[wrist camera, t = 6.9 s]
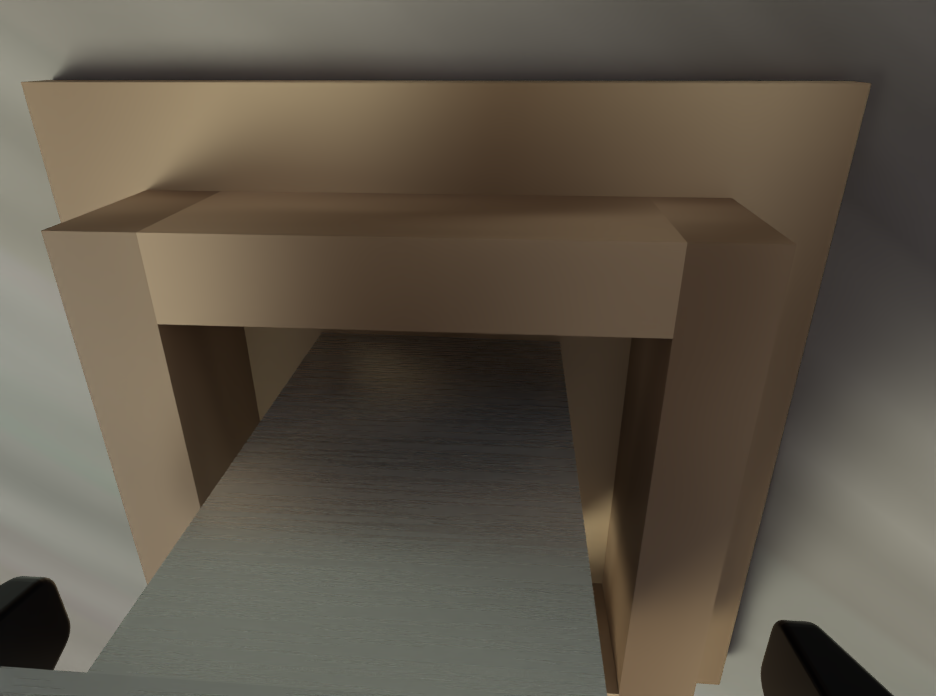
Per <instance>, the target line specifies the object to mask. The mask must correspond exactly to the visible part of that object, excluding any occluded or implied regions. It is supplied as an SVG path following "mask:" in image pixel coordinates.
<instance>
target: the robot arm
mask: <svg viewBox="0 0 936 696" xmlns="http://www.w3.org/2000/svg"><path fill="white" fill-rule="evenodd" d="M69 634H70V621H69V618H68V615H67V612H66V610H65V607H64V605H63V602H62V599H61V597H60V594H59V592H58V589H57V587H56V585H55V583H54V582H53V581H52V580H51V579H49V578H46V577H29V576H21V577H16V578H13V579H11V580H9V581H7V582H5V583H3V584H2V585H0V667H1V666H2V667H16V668H30V669H43V670H54V668H55V666H56V664H57V662H58V660H59V658H60V656H61V654H62V652H63V650H64V648H65V646H66V643H67V641H68V637H69ZM761 682H762V689H763V693H764V696H893V695H892V694H891V693H890V692H889V691H888V690H887V689H886V688H885V687H884V686H883V685H882V684H880V683H879V682H878V681H877V680H876V679H875V678H874V677H873V676H872V675H871V674H870V673H869V672H867V671H866V670H865V669H864V668H863V667H862V666H861V665H860V664H859V663H858V662H857V661H855V660H854V659H853V658H852V657H851V656H850V655H849V654H848V653H847V652H846V651H845V650H844V649H842V648H841V647H840V646H839V645H838V644H837V643H836V642H835V641H834V640H833V639H832V638H831V637H829V636H828V635H827V634H826V633H825V632H824V631H823V630H822V629H821V628H819V627H818V626H817V625H815V624H813V623H811V622H806V621H789V620H780V621H778V622H776V623H775V624H774V626H773V628H772V631H771V635H770V638H769V642H768V645H767V649H766V652H765V655H764V659H763V662H762V667H761Z"/></svg>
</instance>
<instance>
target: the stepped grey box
mask: <svg viewBox="0 0 936 696" xmlns="http://www.w3.org/2000/svg"><path fill="white" fill-rule="evenodd" d="M0 696H607V691H606V684H605V676H604V669H603V661H602V654H601V646H600V639H599V631H598V624H597V616H596V609H595V601H594V594H593V586H592V579H591V572H590V564H589V557H588V549H587V542H586V534H585V527H584V519H583V512H582V504H581V497H580V489H579V482H578V474H577V467H576V459H575V452H574V445H573V437H572V430H571V422H570V415H569V407H568V400H567V392H566V385H565V377H564V370H563V362H562V355H561V347H560V341H544V340H516V339H487V338H459V337H431V336H402V335H374V334H346V333H321V334H320V336H319V337H318V339H317V340H316V342H315V343H314V344H313V346H312V347H311V349H310V350H309V352H308V353H307V355H306V356H305V358H304V359H303V360H302V362H301V363H300V365H299V366H298V368H297V369H296V371H295V372H294V373H293V375H292V376H291V378H290V379H289V381H288V382H287V384H286V385H285V387H284V388H283V389H282V391H281V392H280V394H279V395H278V397H277V398H276V400H275V401H274V402H273V404H272V405H271V407H270V408H269V410H268V411H267V413H266V414H265V416H264V417H263V418H262V420H261V421H260V423H259V424H258V426H257V427H256V429H255V430H254V431H253V433H252V434H251V436H250V437H249V439H248V440H247V442H246V443H245V445H244V446H243V447H242V449H241V450H240V452H239V453H238V455H237V456H236V458H235V459H234V460H233V462H232V463H231V465H230V466H229V468H228V469H227V471H226V472H225V473H224V475H223V476H222V478H221V479H220V481H219V482H218V484H217V485H216V487H215V488H214V489H213V491H212V492H211V494H210V495H209V497H208V498H207V500H206V501H205V502H204V504H203V505H202V507H201V508H200V510H199V511H198V513H197V514H196V516H195V517H194V518H193V520H192V521H191V523H190V524H189V526H188V527H187V529H186V530H185V531H184V533H183V534H182V536H181V537H180V539H179V540H178V542H177V543H176V545H175V546H174V547H173V549H172V550H171V552H170V553H169V555H168V556H167V558H166V559H165V560H164V562H163V563H162V565H161V566H160V568H159V569H158V571H157V572H156V574H155V575H154V576H153V578H152V579H151V581H150V582H149V584H148V585H147V587H146V588H145V589H144V591H143V592H142V594H141V595H140V597H139V598H138V600H137V601H136V603H135V604H134V605H133V607H132V608H131V610H130V611H129V613H128V614H127V616H126V617H125V618H124V620H123V621H122V623H121V624H120V626H119V627H118V629H117V630H116V631H115V633H114V634H113V636H112V637H111V639H110V640H109V642H108V643H107V645H106V646H105V647H104V649H103V650H102V652H101V653H100V655H99V656H98V658H97V659H96V660H95V662H94V663H93V665H92V666H91V668H90V669H89V671H88V672H87V673H85V672H71V671H57V670H43V669H30V668H16V667H2V666H1V667H0Z"/></svg>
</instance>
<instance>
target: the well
mask: <svg viewBox="0 0 936 696" xmlns="http://www.w3.org/2000/svg"><path fill="white" fill-rule="evenodd" d="M21 84H22V87H23V91H24V94H25V98H26V101H27V105H28V108H29V112H30V115H31V119H32V122H33V126H34V129H35V133H36V136H37V140H38V144H39V147H40V151H41V154H42V158H43V161H44V165H45V168H46V172H47V175H48V179H49V182H50V186H51V189H52V193H53V196H54V200H55V203H56V207H57V210H58V214H59V217H60V221H61V223H60V224H58V225H55V226H52V227H50V228H47V229H45V230H42V231H41V232H42V236H43V239H44V242H45V246H46V249H47V252H48V256H49V259H50V262H51V266H52V269H53V272H54V276H55V279H56V282H57V286H58V289H59V292H60V296H61V299H62V302H63V306H64V309H65V312H66V316H67V319H68V322H69V325H70V329H71V332H72V335H73V339H74V342H75V345H76V349H77V352H78V355H79V359H80V362H81V365H82V369H83V372H84V375H85V379H86V382H87V385H88V389H89V392H90V395H91V399H92V402H93V405H94V409H95V412H96V415H97V419H98V422H99V425H100V429H101V432H102V435H103V439H104V442H105V445H106V449H107V452H108V455H109V459H110V462H111V465H112V469H113V472H114V475H115V479H116V482H117V485H118V489H119V492H120V495H121V499H122V502H123V505H124V509H125V512H126V515H127V519H128V522H129V525H130V529H131V532H132V535H133V539H134V542H135V545H136V549H137V552H138V555H139V559H140V562H141V565H142V569H143V572H144V575H145V579H146V582H147V585H148V584H149V582H150V581H151V579H152V578H153V576H154V575H155V574H156V572H157V571H158V569H159V568H160V566H161V565H162V563H163V562H164V560H165V559H166V558H167V556H168V555H169V553H170V552H171V550H172V549H173V547H174V546H175V545H176V543H177V542H178V540H179V539H180V537H181V536H182V534H183V533H184V531H185V530H186V529H187V527H188V526H189V524H190V523H191V521H192V520H193V518H194V517H195V516H196V514H197V513H198V511H199V510H200V508H201V507H202V505H203V504H204V502H205V501H206V500H207V498H208V497H209V495H210V494H211V492H212V491H213V489H214V488H215V487H216V485H217V484H218V482H219V481H220V479H221V478H222V476H223V475H224V473H225V472H226V471H227V469H228V468H229V466H230V465H231V463H232V462H233V460H234V459H235V458H236V456H237V455H238V453H239V452H240V450H241V449H242V447H243V446H244V445H245V443H246V442H247V440H248V439H249V437H250V436H251V434H252V433H253V431H254V430H255V429H256V427H257V426H258V424H259V423H260V421H261V420H262V418H263V417H264V416H265V414H266V413H267V411H268V410H269V408H270V407H271V405H272V404H273V402H274V401H275V400H276V398H277V397H278V395H279V394H280V392H281V391H282V389H283V388H284V387H285V385H286V384H287V382H288V381H289V379H290V378H291V376H292V375H293V373H294V372H295V371H296V369H297V368H298V366H299V365H300V363H301V362H302V360H303V359H304V358H305V356H306V355H307V353H308V352H309V350H310V349H311V347H312V346H313V344H314V343H315V342H316V340H317V339H318V337H319V336H320V334H321V333H346V334H374V335H402V336H431V337H459V338H487V339H516V340H544V341H560V347H561V355H562V362H563V370H564V377H565V385H566V392H567V400H568V407H569V415H570V422H571V430H572V437H573V445H574V452H575V459H576V467H577V474H578V482H579V489H580V497H581V504H582V512H583V519H584V527H585V534H586V542H587V549H588V557H589V564H590V572H591V579H592V586H593V594H594V601H595V609H596V616H597V624H598V631H599V639H600V646H601V654H602V661H603V669H604V676H605V684H606V691H607V696H693V695H694V691H695V687H696V683H702V684H718V685H719V684H720V680H721V676H722V672H723V668H724V664H725V660H726V656H727V652H728V648H729V644H730V640H731V637H732V633H733V629H734V625H735V621H736V617H737V613H738V609H739V605H740V601H741V597H742V593H743V589H744V585H745V581H746V577H747V573H748V569H749V565H750V561H751V557H752V553H753V550H754V546H755V542H756V538H757V534H758V530H759V526H760V522H761V518H762V514H763V510H764V506H765V502H766V498H767V494H768V490H769V486H770V482H771V478H772V474H773V470H774V466H775V463H776V459H777V455H778V451H779V447H780V443H781V439H782V435H783V431H784V427H785V423H786V419H787V415H788V411H789V407H790V403H791V399H792V395H793V391H794V387H795V383H796V380H797V376H798V372H799V368H800V364H801V360H802V356H803V352H804V348H805V344H806V340H807V336H808V332H809V328H810V324H811V320H812V316H813V312H814V308H815V304H816V300H817V296H818V293H819V289H820V285H821V281H822V277H823V273H824V269H825V265H826V261H827V257H828V253H829V249H830V245H831V241H832V237H833V233H834V229H835V225H836V221H837V217H838V213H839V209H840V206H841V202H842V198H843V194H844V190H845V186H846V182H847V178H848V174H849V170H850V166H851V162H852V158H853V154H854V150H855V146H856V142H857V138H858V134H859V130H860V126H861V122H862V119H863V115H864V111H865V107H866V103H867V99H868V95H869V91H870V87H871V83H864V82H854V81H367V80H44V81H30V82H21Z"/></svg>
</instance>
